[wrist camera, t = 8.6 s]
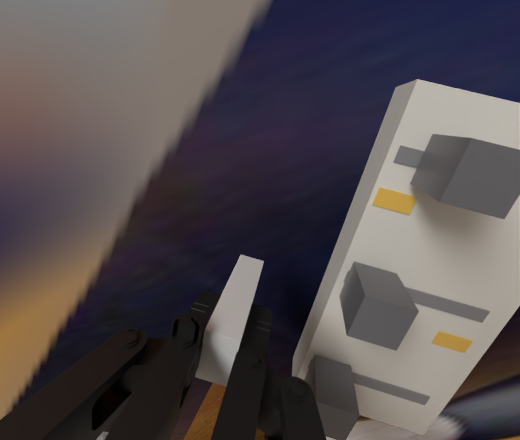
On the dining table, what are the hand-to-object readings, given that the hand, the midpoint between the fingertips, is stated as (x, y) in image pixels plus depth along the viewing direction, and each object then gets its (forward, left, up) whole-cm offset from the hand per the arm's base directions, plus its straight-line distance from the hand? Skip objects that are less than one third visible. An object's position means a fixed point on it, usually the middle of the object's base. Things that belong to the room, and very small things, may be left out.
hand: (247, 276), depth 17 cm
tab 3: (-10, -9, -3) cm, 14 cm away
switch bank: (-12, 0, -7) cm, 14 cm away
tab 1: (-8, +9, -3) cm, 12 cm away
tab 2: (-8, 0, -3) cm, 9 cm away
